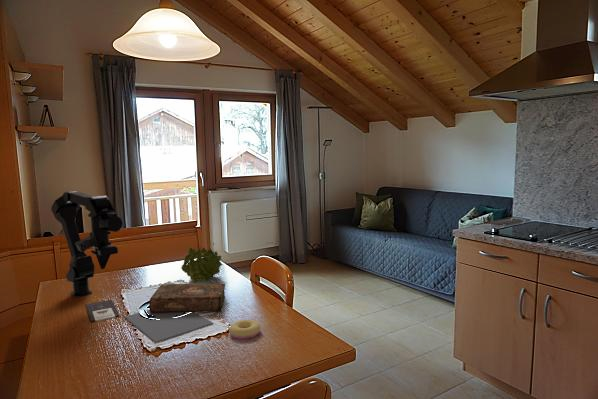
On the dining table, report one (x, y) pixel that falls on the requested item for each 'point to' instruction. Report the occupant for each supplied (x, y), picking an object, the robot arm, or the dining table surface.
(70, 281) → the robot arm
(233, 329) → the donut
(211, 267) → the green leafy plant
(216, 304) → the book
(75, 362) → the dining table surface
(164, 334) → the mat
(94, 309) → the chocolate bar
